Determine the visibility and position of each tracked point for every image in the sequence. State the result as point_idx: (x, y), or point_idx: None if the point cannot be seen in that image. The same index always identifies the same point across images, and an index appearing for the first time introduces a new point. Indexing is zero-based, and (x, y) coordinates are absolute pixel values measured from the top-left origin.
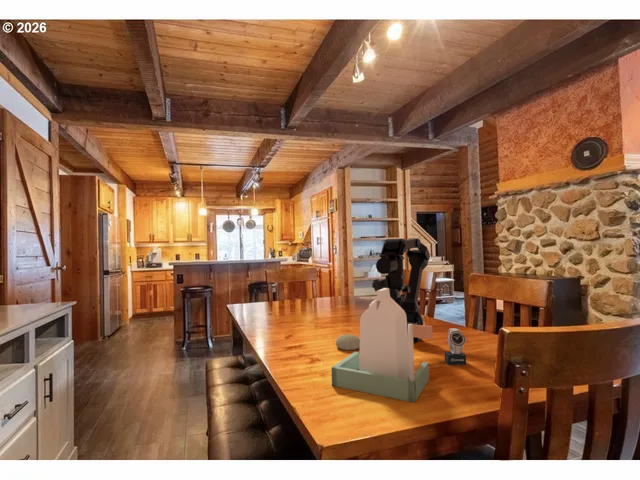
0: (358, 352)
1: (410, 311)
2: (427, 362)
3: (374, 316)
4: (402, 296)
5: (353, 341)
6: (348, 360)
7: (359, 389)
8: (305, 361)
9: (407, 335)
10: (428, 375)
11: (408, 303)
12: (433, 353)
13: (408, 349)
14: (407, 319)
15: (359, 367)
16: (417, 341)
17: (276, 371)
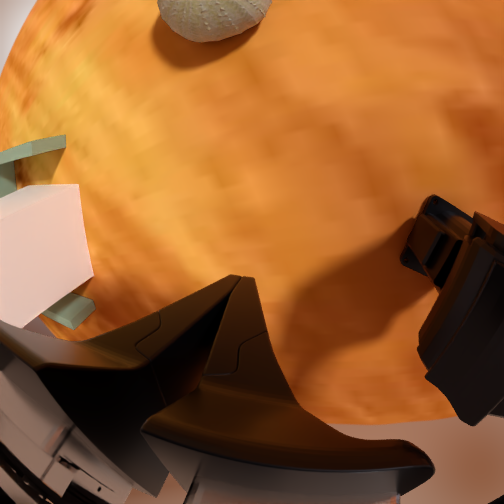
0: (30, 155)
1: (442, 359)
2: (73, 328)
3: None
4: (135, 488)
5: (175, 22)
6: (4, 162)
7: None
8: (67, 11)
9: (23, 324)
10: (88, 313)
11: (501, 382)
12: (284, 328)
13: (48, 305)
14: (439, 295)
15: (7, 195)
16: (417, 271)
17: (24, 26)
